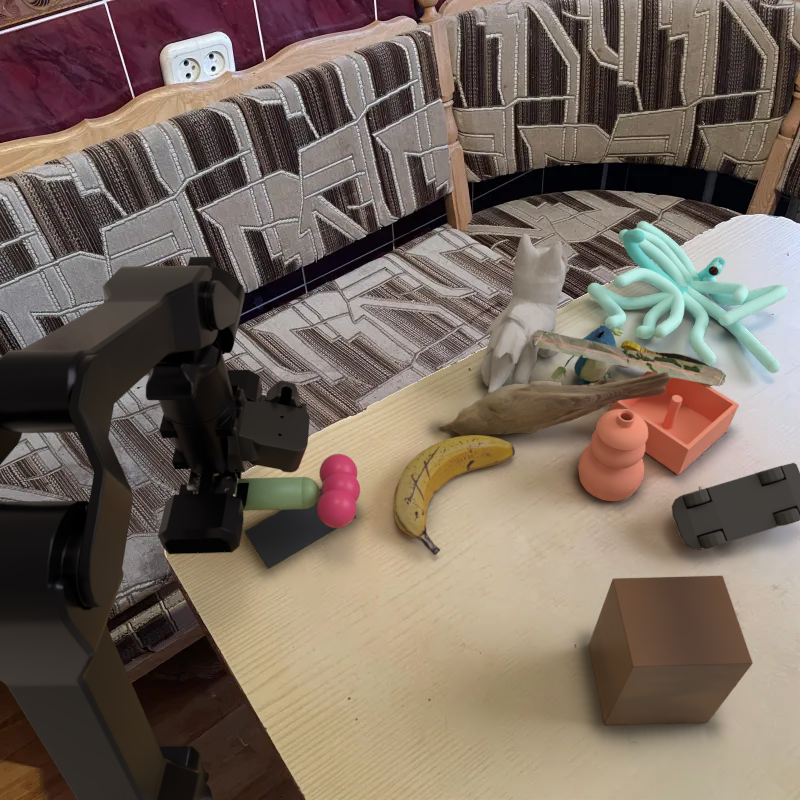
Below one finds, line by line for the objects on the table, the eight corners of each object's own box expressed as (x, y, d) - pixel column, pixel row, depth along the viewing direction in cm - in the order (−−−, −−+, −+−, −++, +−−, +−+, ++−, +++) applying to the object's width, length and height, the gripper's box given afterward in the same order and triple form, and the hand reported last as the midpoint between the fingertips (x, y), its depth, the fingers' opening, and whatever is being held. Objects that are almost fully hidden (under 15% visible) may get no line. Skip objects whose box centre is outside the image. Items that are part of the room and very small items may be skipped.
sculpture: (665, 380, 81) (677, 410, 77) (446, 434, 87) (447, 465, 83) (657, 334, 78) (669, 364, 74) (429, 395, 84) (429, 425, 80)
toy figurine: (570, 414, 85) (581, 366, 79) (542, 394, 87) (550, 346, 81) (636, 363, 90) (650, 315, 84) (608, 345, 92) (620, 297, 87)
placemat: (268, 569, 72) (268, 566, 72) (244, 533, 75) (244, 530, 75) (356, 517, 76) (356, 515, 76) (330, 485, 79) (330, 482, 79)
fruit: (433, 562, 72) (433, 545, 70) (368, 507, 77) (367, 489, 75) (533, 470, 80) (536, 452, 77) (469, 425, 84) (470, 406, 82)
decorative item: (613, 365, 90) (622, 342, 85) (615, 359, 90) (624, 336, 85) (709, 394, 87) (723, 373, 83) (710, 388, 87) (724, 366, 83)
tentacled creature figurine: (629, 201, 84) (692, 174, 96) (554, 279, 94) (620, 246, 106) (786, 373, 80) (831, 322, 92) (690, 436, 90) (742, 383, 102)
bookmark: (533, 330, 82) (535, 327, 82) (722, 370, 83) (724, 367, 82) (532, 348, 81) (534, 345, 80) (725, 389, 81) (727, 386, 81)
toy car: (695, 556, 69) (675, 556, 74) (825, 516, 70) (798, 519, 75) (672, 495, 70) (655, 499, 75) (801, 456, 71) (775, 463, 76)
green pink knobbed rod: (199, 539, 69) (190, 517, 67) (211, 472, 74) (204, 449, 72) (360, 535, 69) (358, 512, 67) (361, 468, 74) (359, 445, 72)
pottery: (655, 384, 88) (675, 320, 80) (727, 430, 83) (756, 366, 75) (551, 467, 80) (564, 404, 72) (624, 523, 75) (646, 462, 68)
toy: (578, 320, 95) (588, 217, 84) (516, 423, 84) (518, 319, 73) (530, 308, 97) (534, 206, 87) (464, 405, 87) (459, 303, 76)
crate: (604, 725, 62) (632, 666, 53) (588, 643, 67) (612, 578, 58) (708, 722, 62) (753, 663, 53) (685, 641, 67) (722, 575, 58)
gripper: (287, 489, 55) (310, 595, 66) (304, 319, 67) (322, 432, 79) (133, 494, 55) (183, 599, 66) (179, 322, 67) (215, 435, 79)
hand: (232, 509), depth 72 cm, fingers closed on green pink knobbed rod, 3 cm apart
